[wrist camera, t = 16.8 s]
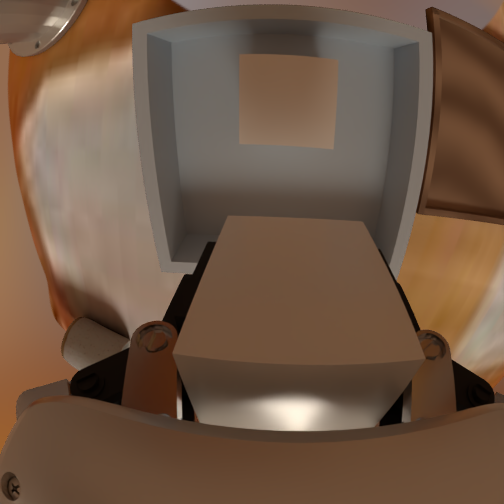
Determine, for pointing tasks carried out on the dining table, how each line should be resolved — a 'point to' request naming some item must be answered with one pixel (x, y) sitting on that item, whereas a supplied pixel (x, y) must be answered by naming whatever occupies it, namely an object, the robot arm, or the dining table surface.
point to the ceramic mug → (90, 343)
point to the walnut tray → (464, 123)
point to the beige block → (287, 100)
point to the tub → (277, 156)
